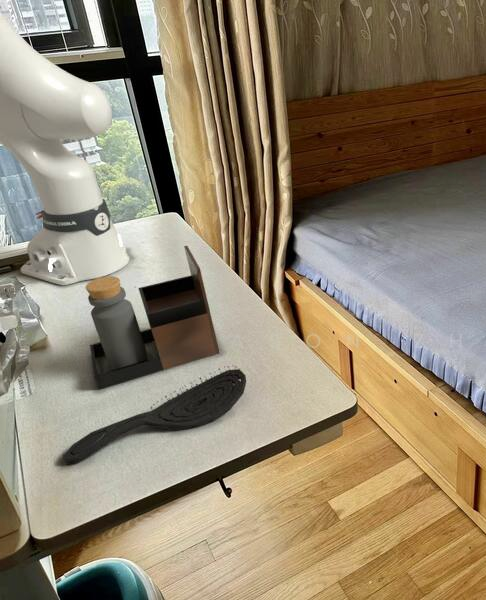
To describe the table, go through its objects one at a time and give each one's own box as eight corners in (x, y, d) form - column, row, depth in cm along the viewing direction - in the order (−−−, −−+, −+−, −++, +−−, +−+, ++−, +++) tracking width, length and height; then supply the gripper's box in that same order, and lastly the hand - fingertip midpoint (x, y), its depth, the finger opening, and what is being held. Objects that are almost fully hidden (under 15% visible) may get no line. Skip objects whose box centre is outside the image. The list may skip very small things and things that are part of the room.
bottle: (134, 375, 86) (107, 294, 79) (102, 371, 88) (72, 290, 80) (156, 354, 91) (131, 275, 84) (125, 351, 92) (98, 272, 85)
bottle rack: (98, 389, 84) (64, 300, 76) (94, 357, 91) (62, 272, 83) (219, 353, 91) (199, 268, 83) (206, 325, 99) (187, 245, 91)
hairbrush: (52, 428, 72) (232, 354, 84) (63, 448, 74) (237, 373, 86) (60, 467, 66) (253, 382, 78) (72, 487, 68) (258, 401, 80)
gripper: (-135, 346, 61) (11, 318, 68) (-111, 274, 76) (8, 257, 83) (-113, 390, 65) (24, 359, 71) (-94, 313, 79) (19, 293, 86)
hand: (15, 303), depth 77 cm, fingers open, 8 cm apart
